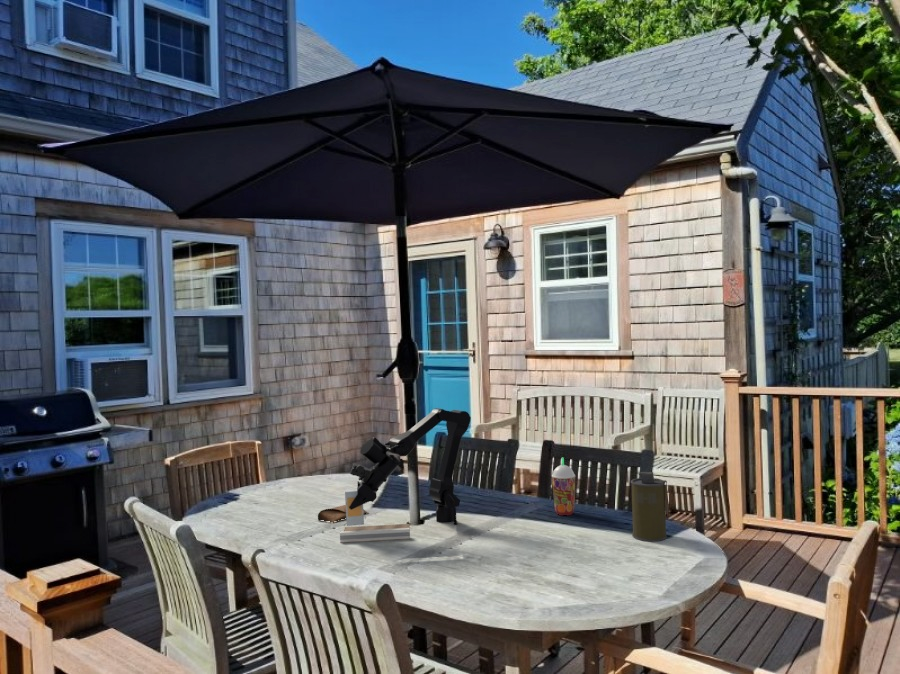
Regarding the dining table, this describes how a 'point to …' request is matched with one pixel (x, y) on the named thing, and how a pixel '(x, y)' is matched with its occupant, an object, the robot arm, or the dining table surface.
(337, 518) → the sunglasses case
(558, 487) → the smoothie
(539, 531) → the dining table surface
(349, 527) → the shelf board
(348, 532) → the rail
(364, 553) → the dining table surface
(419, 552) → the dining table surface
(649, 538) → the canister
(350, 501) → the carton
